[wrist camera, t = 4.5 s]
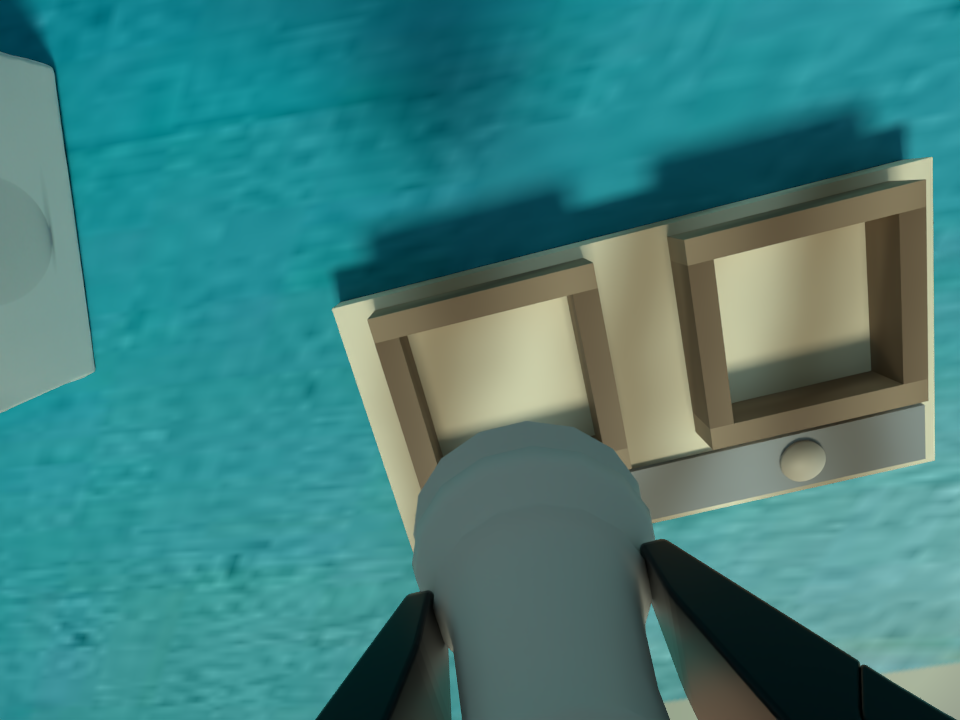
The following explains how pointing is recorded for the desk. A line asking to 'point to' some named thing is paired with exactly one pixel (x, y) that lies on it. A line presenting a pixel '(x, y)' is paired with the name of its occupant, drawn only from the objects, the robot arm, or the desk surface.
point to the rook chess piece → (540, 576)
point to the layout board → (679, 346)
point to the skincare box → (37, 242)
